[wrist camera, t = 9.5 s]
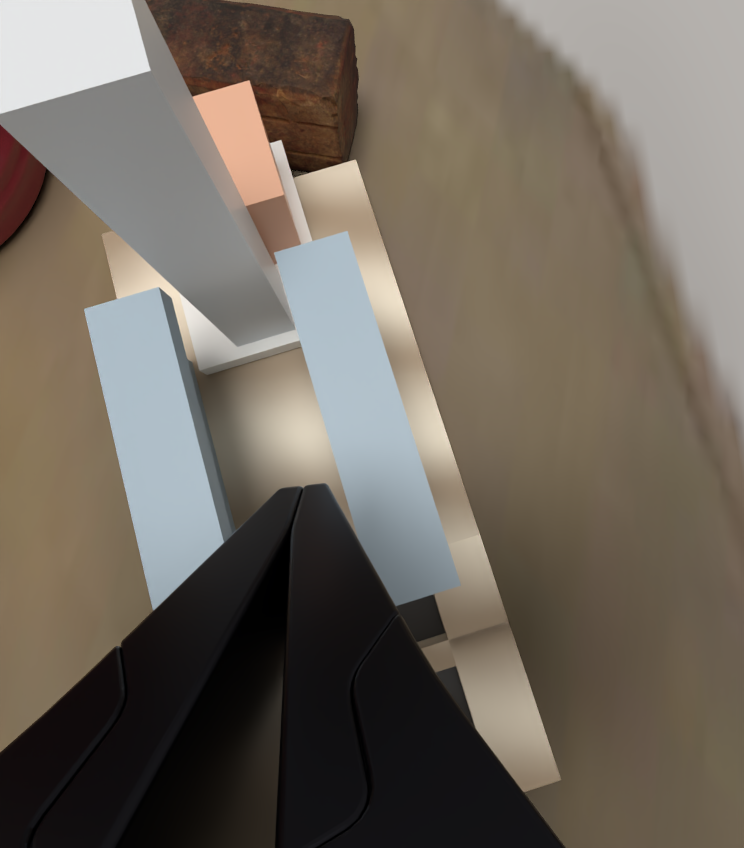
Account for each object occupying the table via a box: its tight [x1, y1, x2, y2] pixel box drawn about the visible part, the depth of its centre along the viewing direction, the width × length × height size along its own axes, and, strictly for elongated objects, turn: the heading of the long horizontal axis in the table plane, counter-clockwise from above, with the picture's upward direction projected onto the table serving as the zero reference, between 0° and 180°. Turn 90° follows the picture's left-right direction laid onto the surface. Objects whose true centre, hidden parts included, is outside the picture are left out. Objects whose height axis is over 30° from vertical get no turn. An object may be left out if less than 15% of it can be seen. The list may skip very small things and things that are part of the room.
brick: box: [145, 0, 359, 172], centre depth 19 cm, size 11×4×5 cm, turn 79°
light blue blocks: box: [84, 231, 461, 611], centre depth 15 cm, size 10×8×6 cm
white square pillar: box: [0, 0, 312, 375], centre depth 13 cm, size 9×6×12 cm, turn 17°
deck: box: [102, 160, 561, 792], centre depth 19 cm, size 27×12×1 cm, turn 17°
